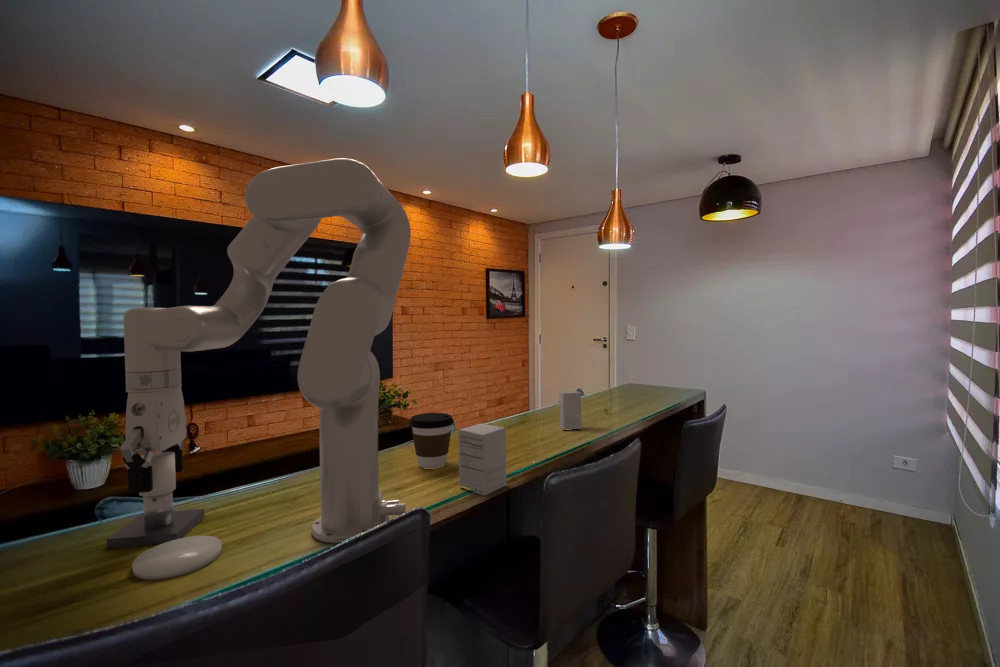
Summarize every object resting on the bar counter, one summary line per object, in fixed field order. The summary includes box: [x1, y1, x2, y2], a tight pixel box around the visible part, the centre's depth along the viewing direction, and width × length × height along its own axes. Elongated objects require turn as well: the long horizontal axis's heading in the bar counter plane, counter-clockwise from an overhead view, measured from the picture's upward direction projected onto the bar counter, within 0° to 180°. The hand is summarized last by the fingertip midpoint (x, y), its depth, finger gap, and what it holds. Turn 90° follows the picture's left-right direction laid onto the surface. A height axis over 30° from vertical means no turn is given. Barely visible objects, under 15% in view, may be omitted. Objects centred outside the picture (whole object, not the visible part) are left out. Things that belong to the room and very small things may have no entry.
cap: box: [138, 452, 177, 497], centre depth 78 cm, size 6×5×6 cm
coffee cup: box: [408, 412, 455, 469], centre depth 113 cm, size 11×11×12 cm
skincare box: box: [558, 390, 582, 430], centre depth 149 cm, size 6×4×12 cm
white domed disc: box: [131, 535, 223, 581], centre depth 69 cm, size 11×11×1 cm
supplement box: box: [458, 423, 507, 496], centre depth 98 cm, size 7×7×13 cm
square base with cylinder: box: [105, 491, 206, 549], centre depth 79 cm, size 10×10×7 cm
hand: (157, 481), depth 79 cm, fingers open, 9 cm apart
